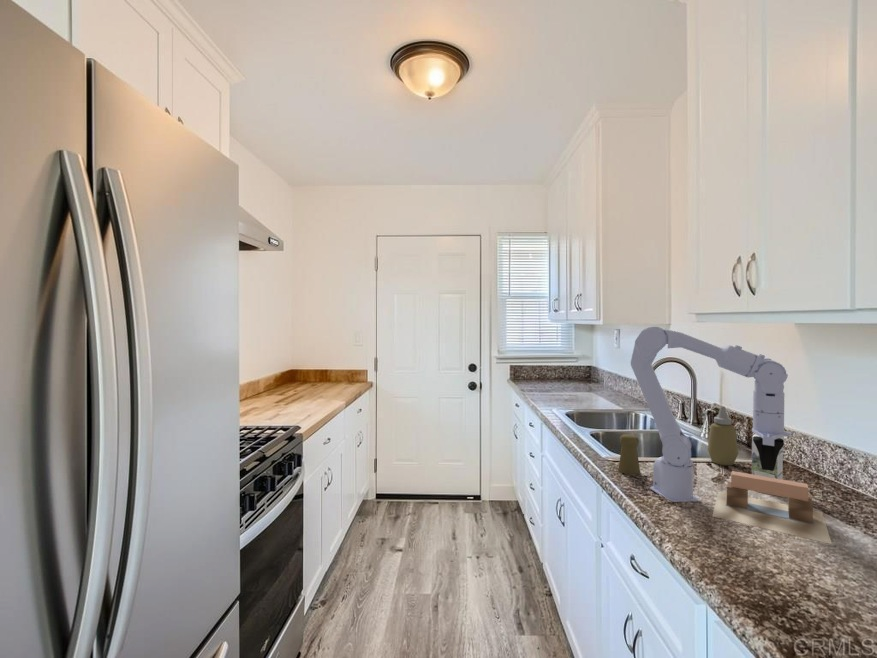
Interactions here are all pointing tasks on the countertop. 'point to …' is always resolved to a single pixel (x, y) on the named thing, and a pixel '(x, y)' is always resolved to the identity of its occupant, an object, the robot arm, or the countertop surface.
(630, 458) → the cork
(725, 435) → the squeeze bottle
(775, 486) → the beam
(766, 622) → the countertop surface
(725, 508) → the board
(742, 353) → the robot arm
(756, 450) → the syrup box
